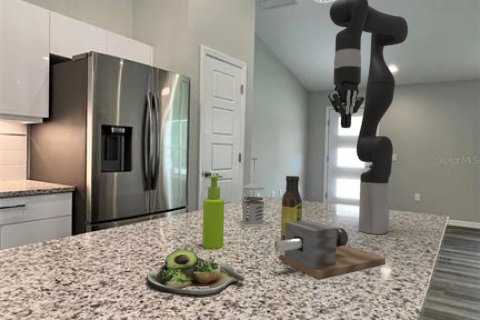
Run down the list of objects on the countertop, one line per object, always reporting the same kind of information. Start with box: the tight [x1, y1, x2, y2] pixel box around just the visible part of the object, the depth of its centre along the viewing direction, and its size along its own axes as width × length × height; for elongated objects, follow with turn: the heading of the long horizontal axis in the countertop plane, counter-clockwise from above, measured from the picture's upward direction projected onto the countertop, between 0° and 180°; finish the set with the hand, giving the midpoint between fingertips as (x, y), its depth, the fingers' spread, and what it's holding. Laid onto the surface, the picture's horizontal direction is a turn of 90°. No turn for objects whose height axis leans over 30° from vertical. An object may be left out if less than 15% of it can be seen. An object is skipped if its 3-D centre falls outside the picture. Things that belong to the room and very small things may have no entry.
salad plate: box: [146, 249, 246, 296], centre depth 72 cm, size 19×18×5 cm
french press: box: [239, 156, 267, 228], centre depth 126 cm, size 10×12×25 cm
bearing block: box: [278, 219, 386, 280], centre depth 85 cm, size 22×14×10 cm, turn 121°
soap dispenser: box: [201, 174, 225, 250], centre depth 97 cm, size 6×7×20 cm
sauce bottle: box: [280, 175, 303, 240], centre depth 105 cm, size 7×6×20 cm
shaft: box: [273, 227, 349, 253], centre depth 82 cm, size 20×5×5 cm, turn 121°
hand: (345, 127), depth 100 cm, fingers closed
